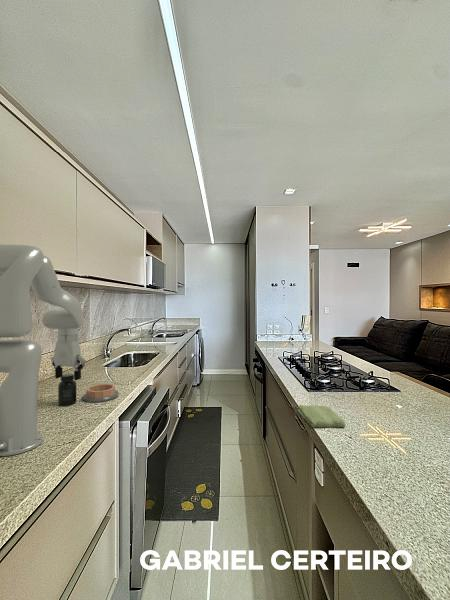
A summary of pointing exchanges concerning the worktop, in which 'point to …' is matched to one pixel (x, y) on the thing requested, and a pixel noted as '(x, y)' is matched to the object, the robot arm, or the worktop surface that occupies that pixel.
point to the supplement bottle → (67, 390)
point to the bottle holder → (100, 393)
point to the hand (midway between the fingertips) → (68, 378)
